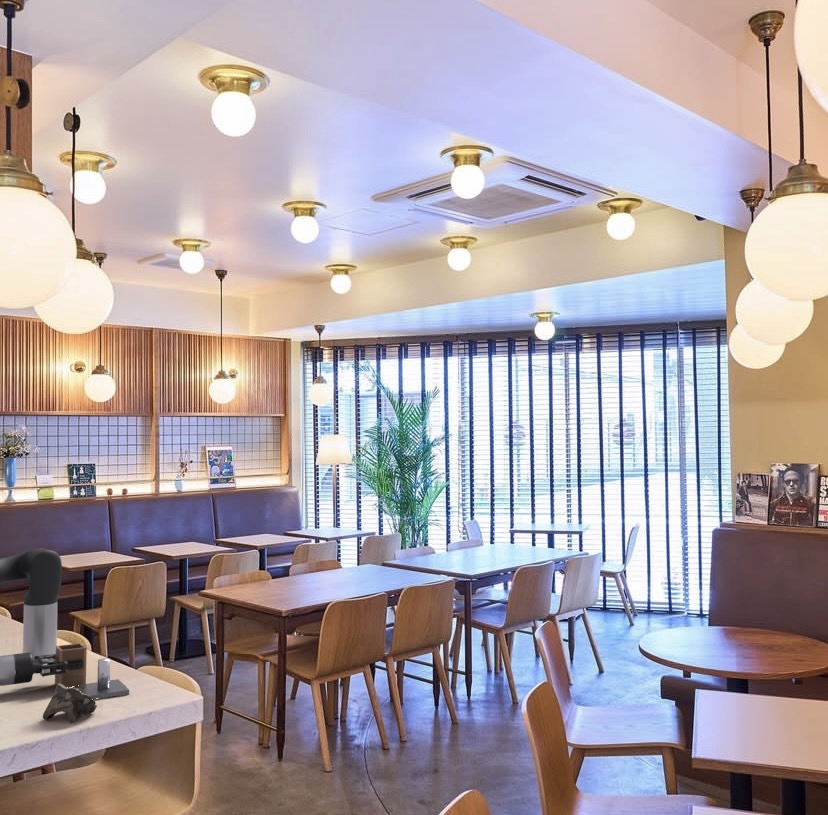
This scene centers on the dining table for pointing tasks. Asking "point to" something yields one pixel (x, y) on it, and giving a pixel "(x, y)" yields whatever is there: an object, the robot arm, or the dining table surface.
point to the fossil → (69, 703)
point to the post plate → (104, 692)
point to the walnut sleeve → (69, 654)
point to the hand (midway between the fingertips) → (79, 660)
